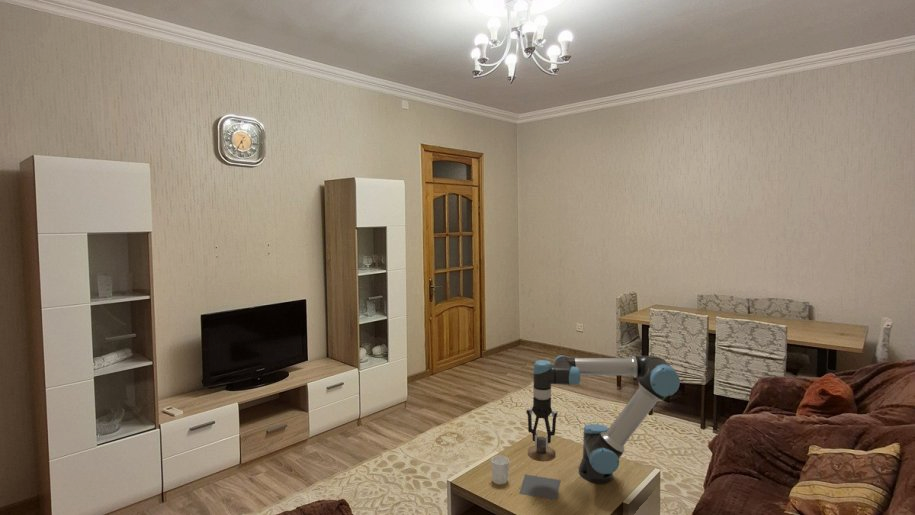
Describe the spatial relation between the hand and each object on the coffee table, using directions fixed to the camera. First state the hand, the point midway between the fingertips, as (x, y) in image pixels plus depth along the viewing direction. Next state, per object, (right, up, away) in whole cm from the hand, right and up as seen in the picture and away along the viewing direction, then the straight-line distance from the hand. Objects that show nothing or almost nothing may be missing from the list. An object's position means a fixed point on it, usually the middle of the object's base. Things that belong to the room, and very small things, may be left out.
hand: (541, 448), depth 214 cm
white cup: (-18, -18, +7) cm, 26 cm away
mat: (0, -18, +2) cm, 18 cm away
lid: (0, -3, 0) cm, 3 cm away
